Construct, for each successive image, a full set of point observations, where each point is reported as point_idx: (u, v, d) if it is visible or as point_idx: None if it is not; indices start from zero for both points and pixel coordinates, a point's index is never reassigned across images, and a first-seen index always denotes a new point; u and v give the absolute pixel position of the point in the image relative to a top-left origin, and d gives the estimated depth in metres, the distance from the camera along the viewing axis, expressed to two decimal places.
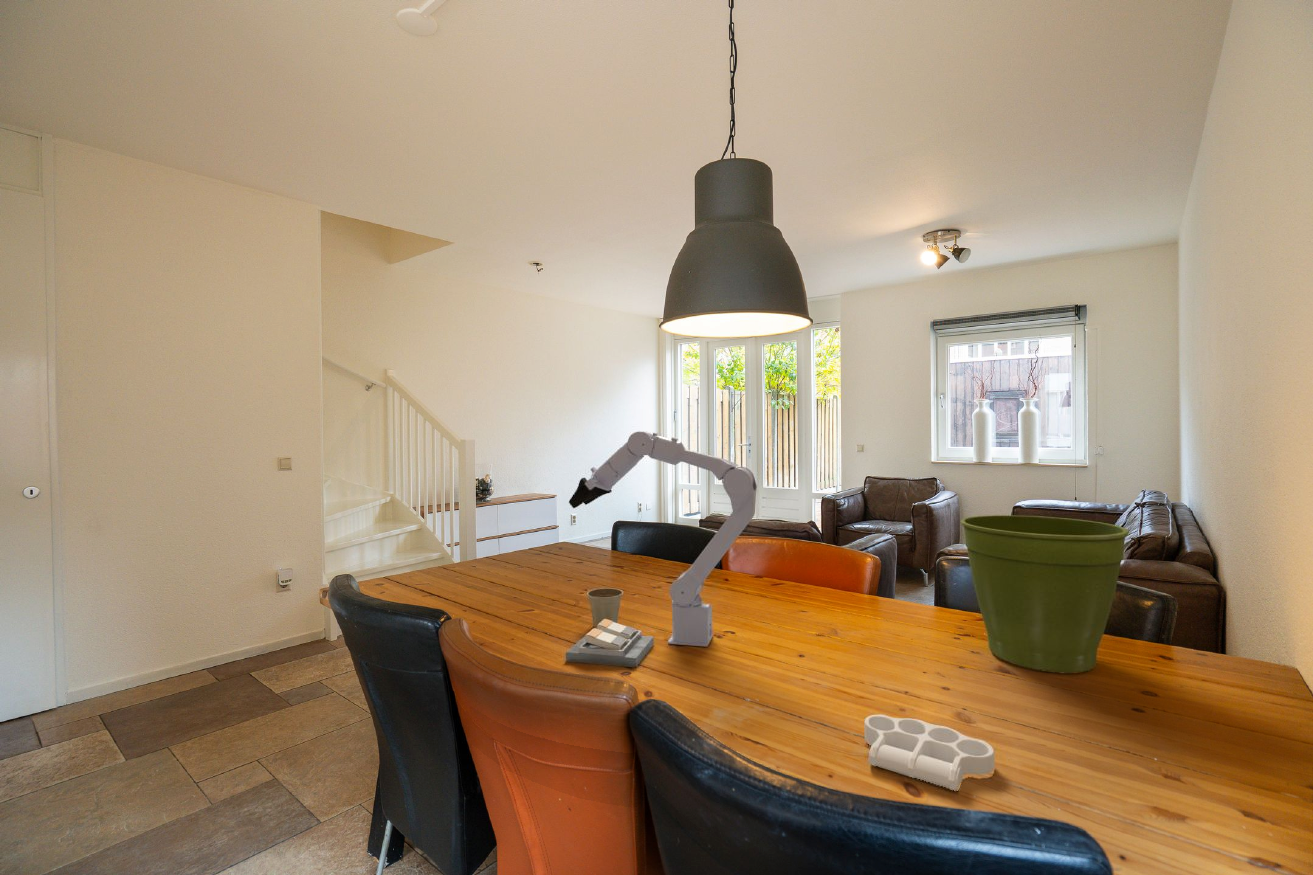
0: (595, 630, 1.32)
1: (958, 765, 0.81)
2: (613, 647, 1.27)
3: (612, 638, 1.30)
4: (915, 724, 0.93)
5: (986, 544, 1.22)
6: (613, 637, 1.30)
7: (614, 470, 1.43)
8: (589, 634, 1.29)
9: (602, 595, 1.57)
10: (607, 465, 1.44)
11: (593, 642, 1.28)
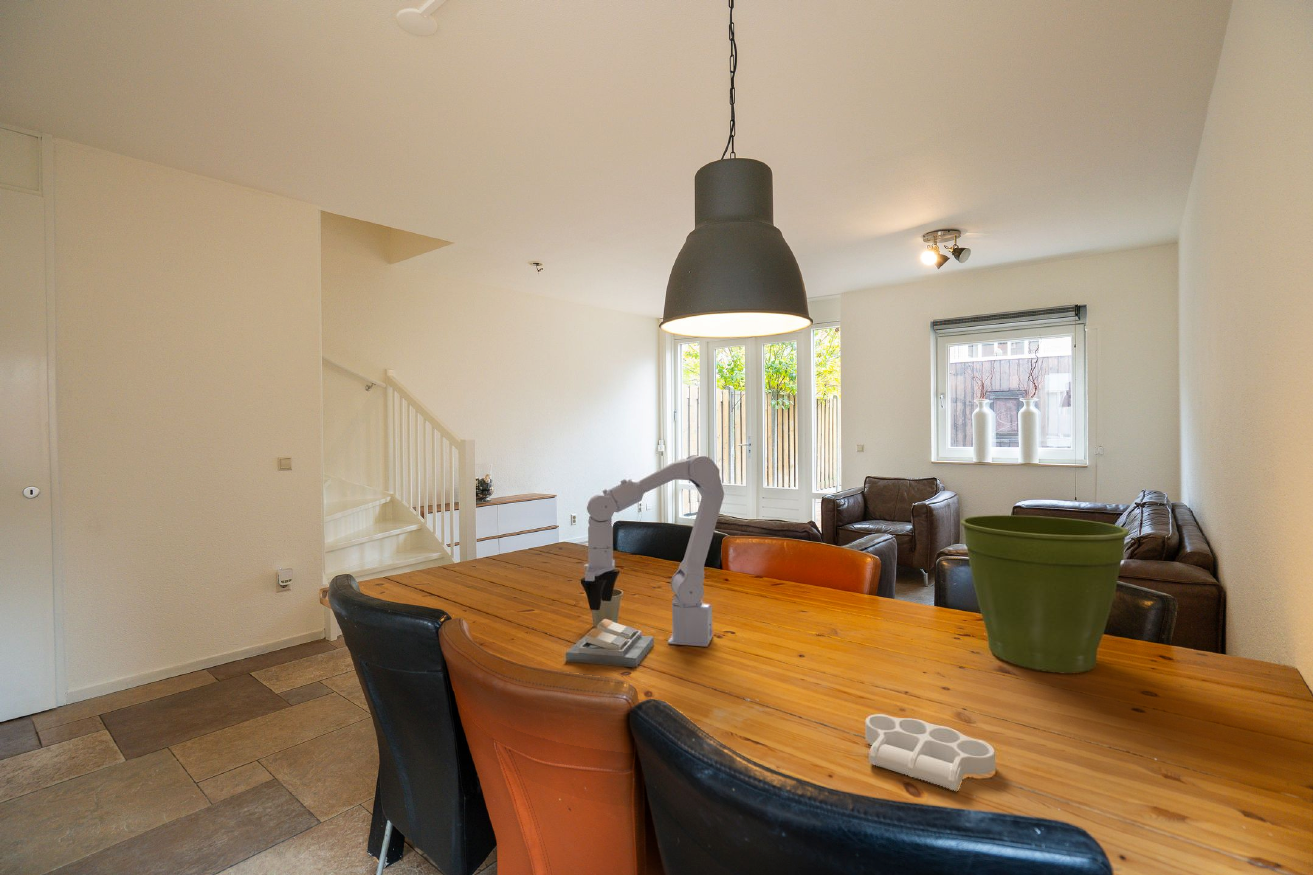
0: (595, 630, 1.32)
1: (958, 765, 0.81)
2: (613, 647, 1.27)
3: (612, 638, 1.30)
4: (916, 724, 0.93)
5: (986, 544, 1.22)
6: (613, 637, 1.30)
7: (599, 548, 1.35)
8: (589, 634, 1.29)
9: None
10: (591, 550, 1.36)
11: (593, 642, 1.28)
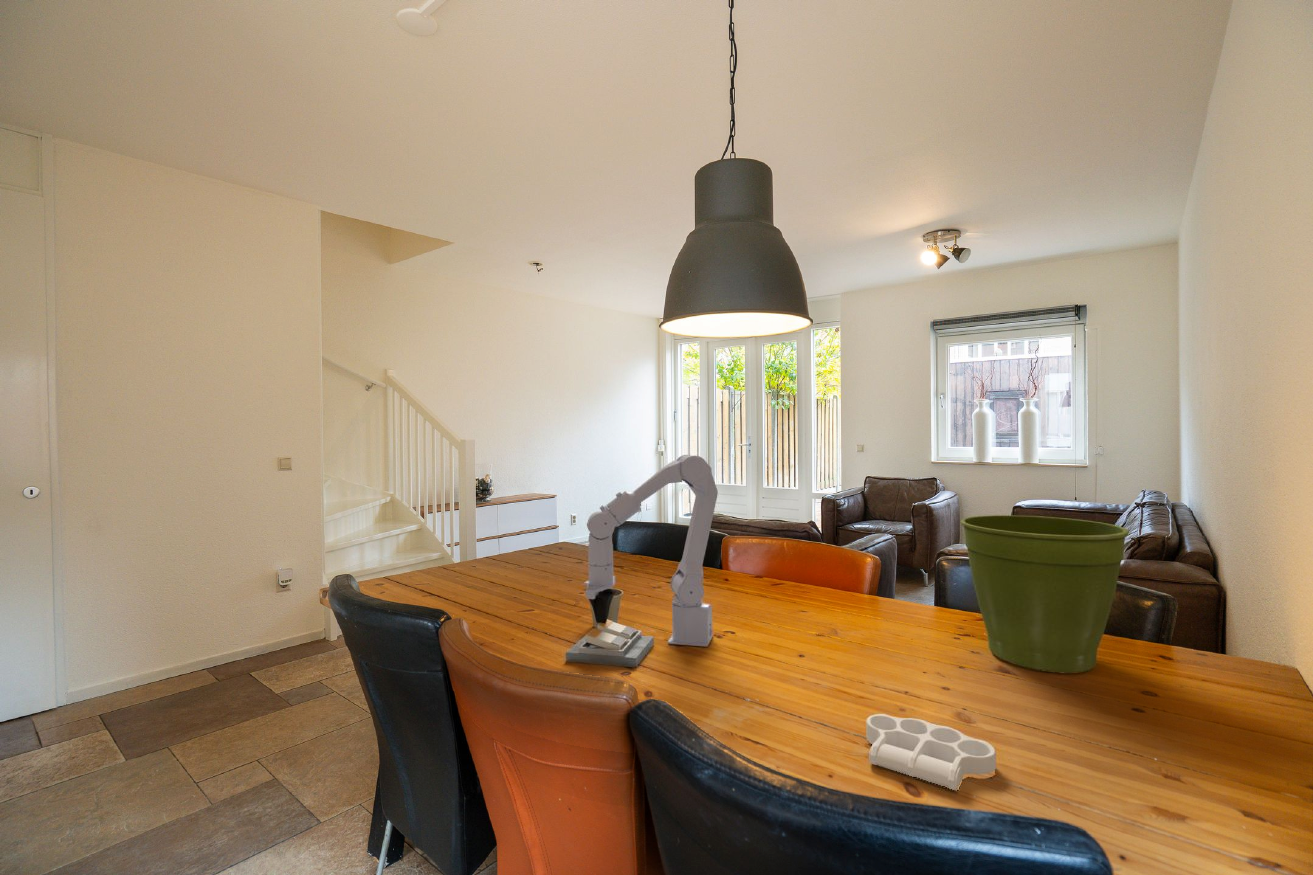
0: (595, 630, 1.32)
1: (958, 765, 0.81)
2: (613, 647, 1.27)
3: (612, 638, 1.30)
4: (917, 724, 0.93)
5: (986, 544, 1.22)
6: (613, 637, 1.30)
7: (599, 565, 1.35)
8: (589, 634, 1.29)
9: None
10: (591, 568, 1.36)
11: (593, 642, 1.28)
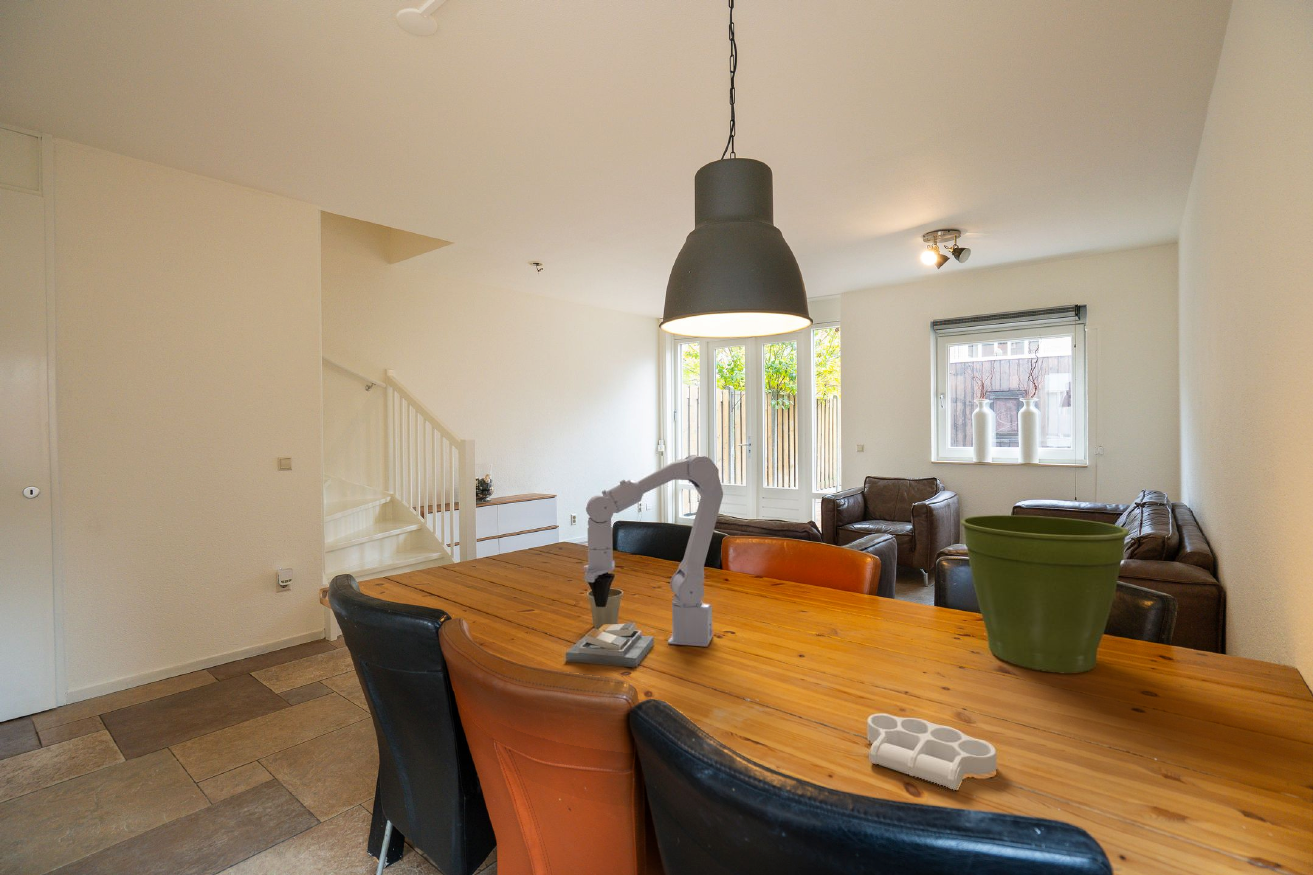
0: (595, 630, 1.32)
1: (958, 764, 0.81)
2: (613, 647, 1.27)
3: (612, 638, 1.30)
4: (918, 724, 0.93)
5: (986, 544, 1.22)
6: (613, 637, 1.30)
7: (599, 549, 1.35)
8: (589, 634, 1.29)
9: None
10: (590, 551, 1.35)
11: (593, 642, 1.28)
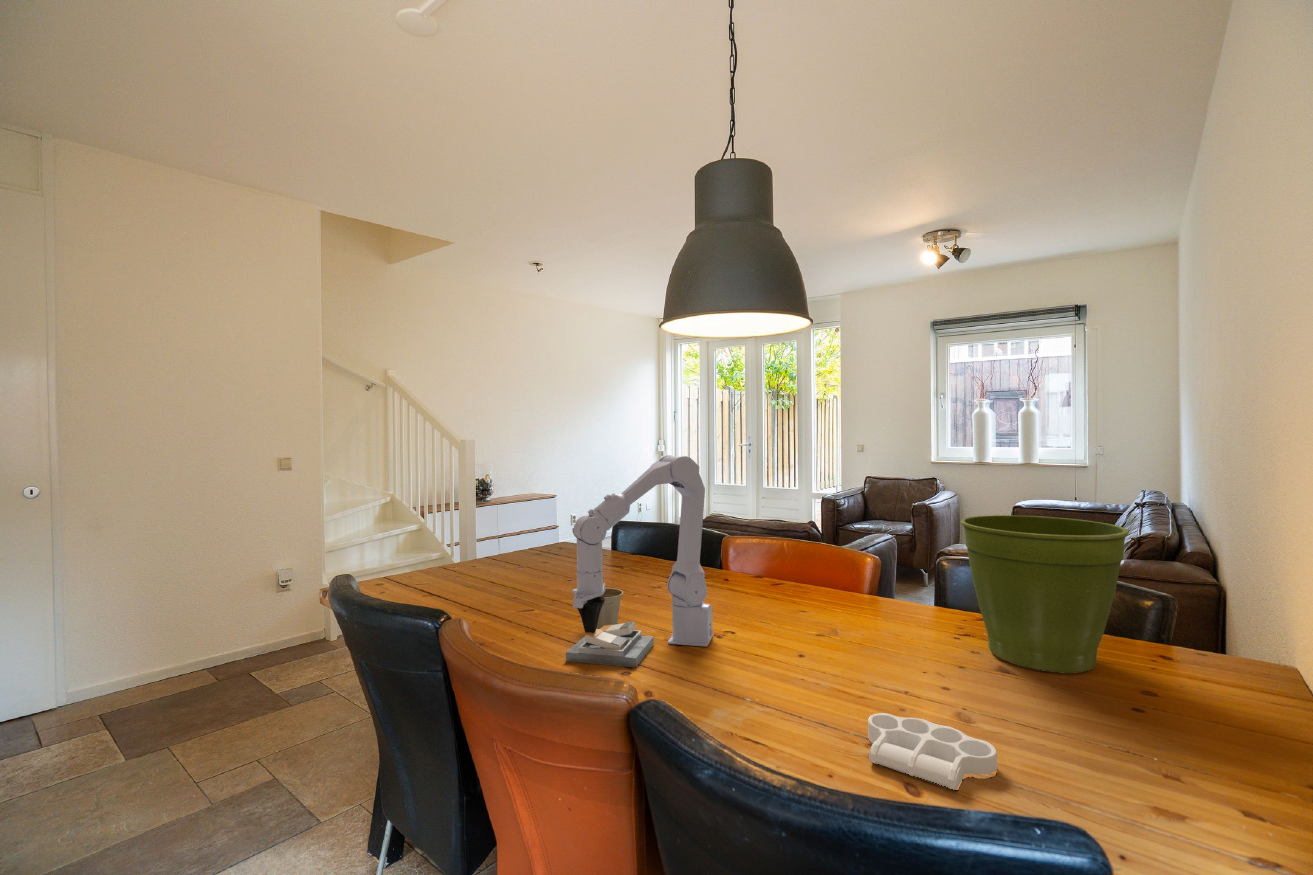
0: None
1: (958, 765, 0.81)
2: (613, 647, 1.27)
3: (612, 638, 1.30)
4: (919, 723, 0.93)
5: (986, 544, 1.22)
6: (613, 637, 1.30)
7: (588, 572, 1.28)
8: (589, 634, 1.29)
9: (602, 595, 1.57)
10: (579, 575, 1.29)
11: (593, 642, 1.28)
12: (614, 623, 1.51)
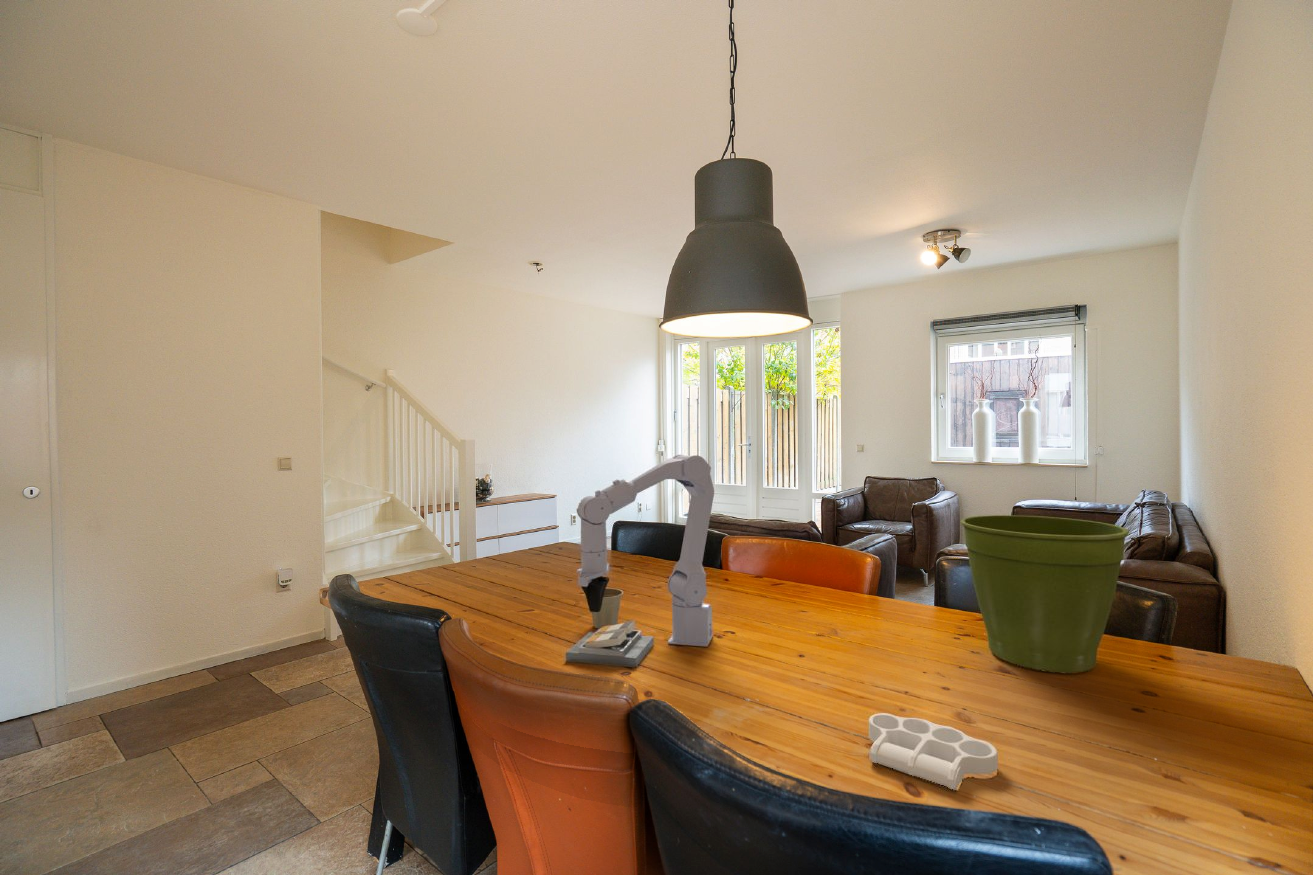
0: (593, 636, 1.32)
1: (958, 765, 0.81)
2: (613, 641, 1.27)
3: (611, 635, 1.30)
4: (920, 724, 0.93)
5: (986, 544, 1.22)
6: (612, 634, 1.30)
7: (592, 552, 1.29)
8: (587, 641, 1.29)
9: None
10: (584, 554, 1.30)
11: (594, 646, 1.28)
12: (614, 623, 1.51)
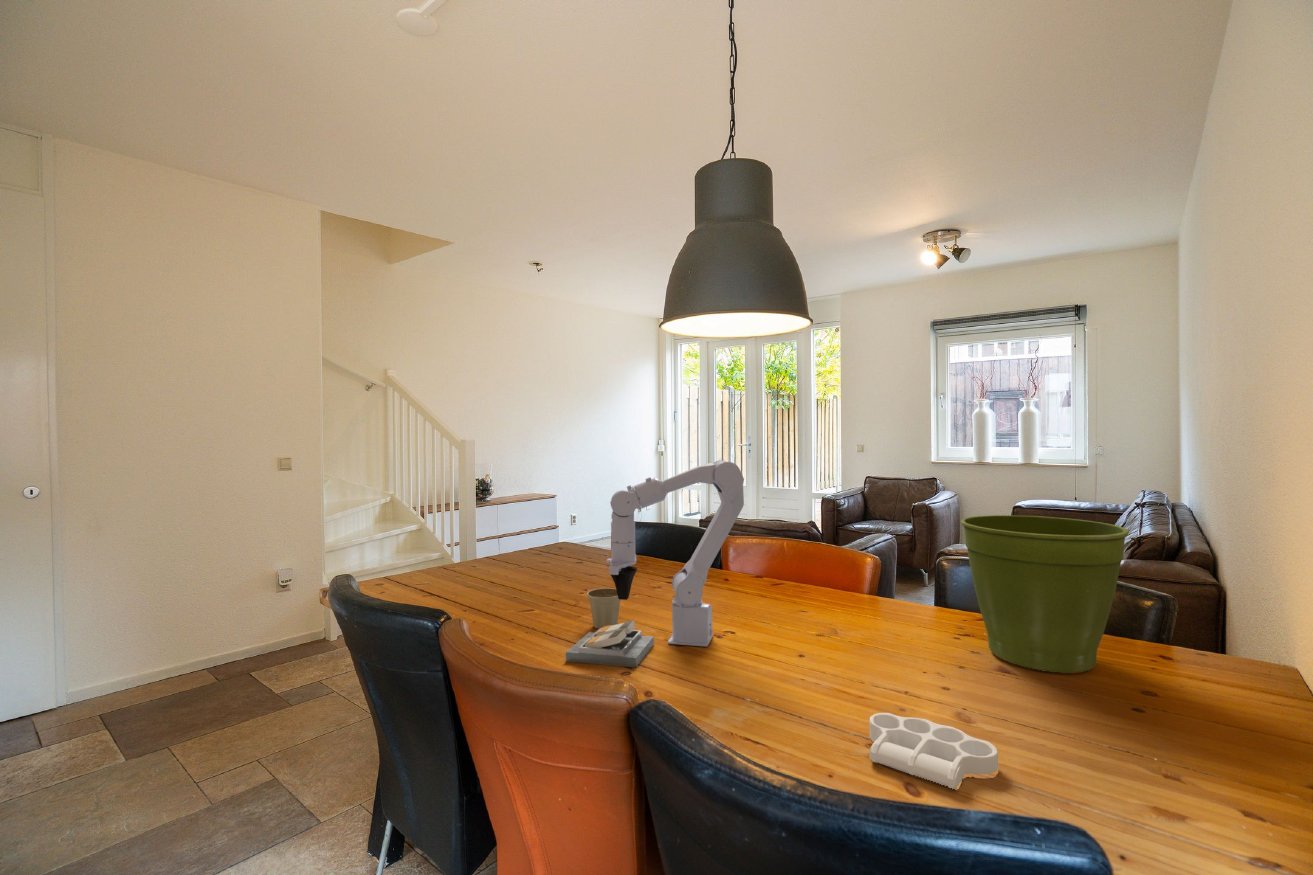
0: (593, 638, 1.32)
1: (958, 764, 0.81)
2: (613, 640, 1.27)
3: (610, 635, 1.30)
4: (921, 723, 0.93)
5: (986, 544, 1.22)
6: (611, 634, 1.31)
7: (622, 542, 1.37)
8: (587, 643, 1.29)
9: (602, 595, 1.57)
10: (614, 545, 1.38)
11: (594, 647, 1.28)
12: (614, 623, 1.51)
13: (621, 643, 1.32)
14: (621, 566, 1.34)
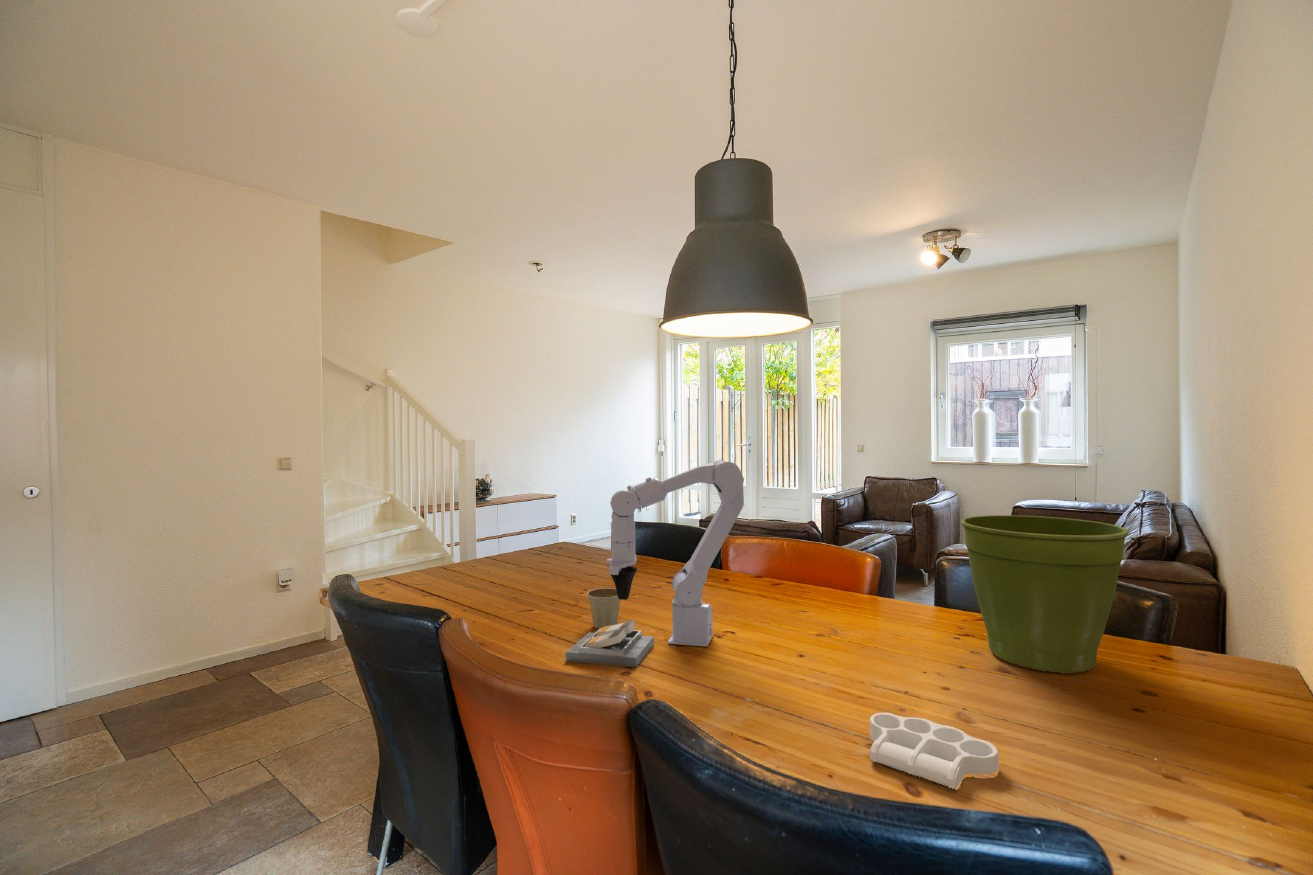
0: (593, 638, 1.32)
1: (958, 764, 0.81)
2: (612, 640, 1.27)
3: (610, 635, 1.30)
4: (921, 723, 0.93)
5: (986, 544, 1.22)
6: (611, 634, 1.31)
7: (622, 542, 1.37)
8: (587, 643, 1.29)
9: (602, 595, 1.57)
10: (614, 545, 1.38)
11: (594, 647, 1.28)
12: (614, 623, 1.51)
13: (621, 643, 1.32)
14: (621, 566, 1.34)
